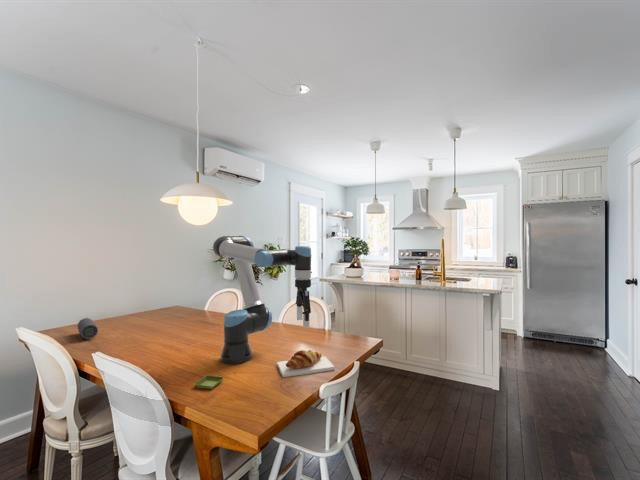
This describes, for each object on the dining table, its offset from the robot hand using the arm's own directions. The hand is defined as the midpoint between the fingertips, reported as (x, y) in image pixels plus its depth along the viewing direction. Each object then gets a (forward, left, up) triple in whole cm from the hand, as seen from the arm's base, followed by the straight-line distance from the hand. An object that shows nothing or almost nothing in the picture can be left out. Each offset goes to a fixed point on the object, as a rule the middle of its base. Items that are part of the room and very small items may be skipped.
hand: (302, 323), depth 150 cm
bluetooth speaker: (-117, +88, -20) cm, 148 cm away
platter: (0, -3, -20) cm, 20 cm away
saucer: (-42, -7, -20) cm, 47 cm away
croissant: (0, -3, -19) cm, 19 cm away
